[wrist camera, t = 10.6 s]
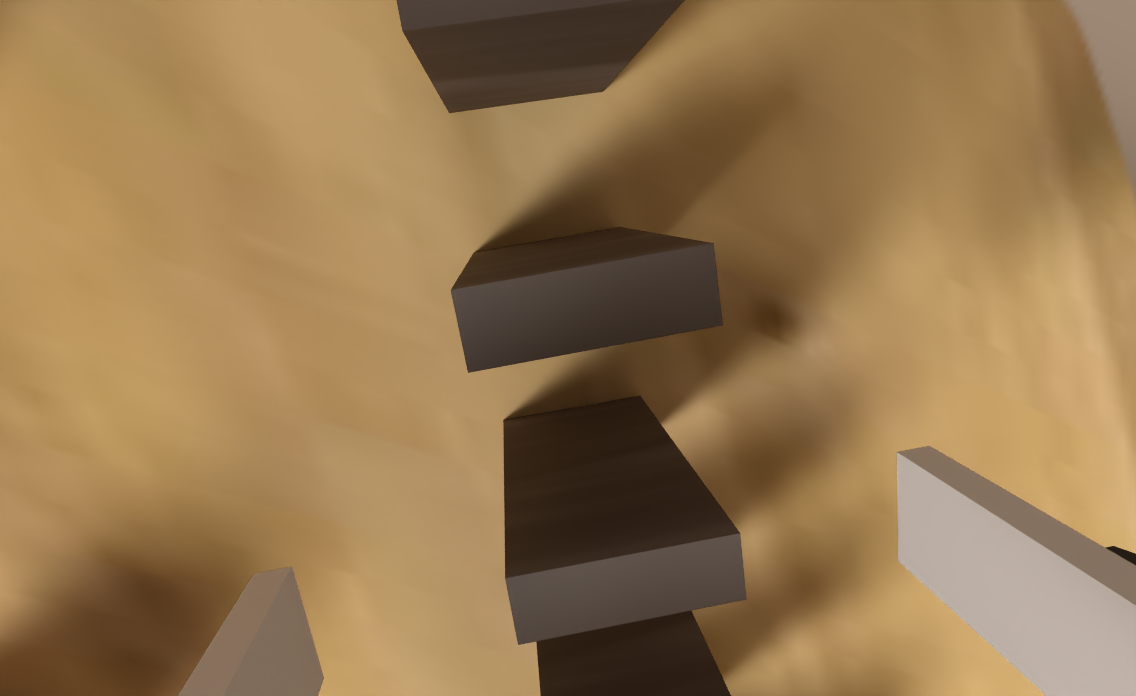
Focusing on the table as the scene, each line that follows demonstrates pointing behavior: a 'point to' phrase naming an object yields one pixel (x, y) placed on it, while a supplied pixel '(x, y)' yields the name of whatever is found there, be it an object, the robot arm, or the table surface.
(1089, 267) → the table surface
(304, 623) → the robot arm
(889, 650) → the table surface
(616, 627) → the domino
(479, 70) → the domino
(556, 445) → the domino
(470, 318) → the domino
